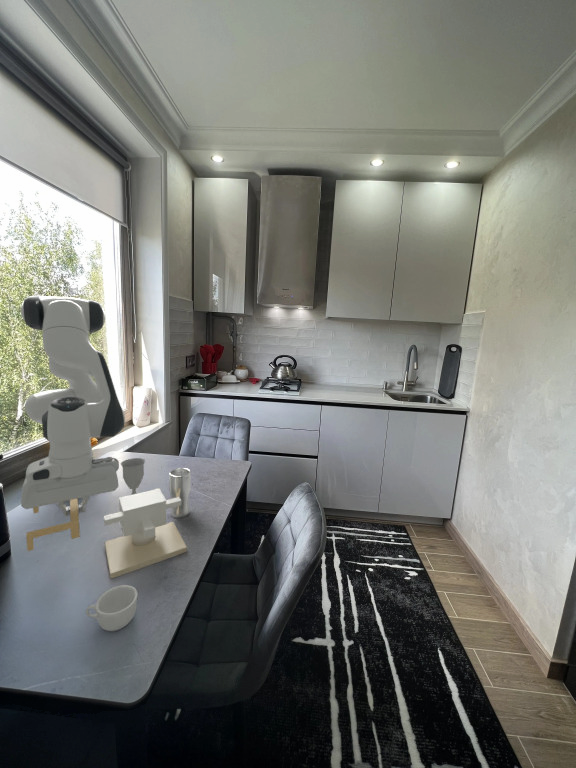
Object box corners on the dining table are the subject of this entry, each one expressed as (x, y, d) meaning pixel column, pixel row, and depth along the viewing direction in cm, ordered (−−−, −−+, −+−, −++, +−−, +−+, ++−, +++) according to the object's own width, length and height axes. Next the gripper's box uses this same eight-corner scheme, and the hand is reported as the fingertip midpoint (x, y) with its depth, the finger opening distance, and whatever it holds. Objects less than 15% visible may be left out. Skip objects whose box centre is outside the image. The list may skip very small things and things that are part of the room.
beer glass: (184, 520, 104) (184, 478, 101) (165, 516, 105) (164, 475, 103) (194, 509, 110) (194, 469, 108) (176, 505, 112) (176, 466, 109)
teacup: (141, 603, 72) (141, 582, 71) (132, 634, 65) (131, 612, 64) (94, 608, 70) (92, 587, 69) (78, 642, 63) (77, 619, 62)
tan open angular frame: (27, 551, 69) (26, 535, 68) (33, 511, 83) (32, 497, 82) (80, 537, 75) (79, 521, 74) (77, 501, 88) (77, 488, 87)
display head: (103, 546, 90) (101, 501, 87) (174, 525, 101) (173, 485, 98) (109, 579, 78) (107, 528, 76) (187, 551, 90) (187, 506, 87)
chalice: (122, 519, 102) (120, 468, 99) (122, 509, 108) (120, 459, 105) (147, 515, 105) (145, 464, 102) (145, 504, 111) (144, 456, 108)
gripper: (117, 451, 87) (118, 497, 89) (20, 465, 75) (25, 517, 77) (120, 460, 82) (121, 508, 84) (17, 477, 70) (22, 532, 72)
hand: (74, 513), depth 81 cm, fingers closed on tan open angular frame, 2 cm apart
